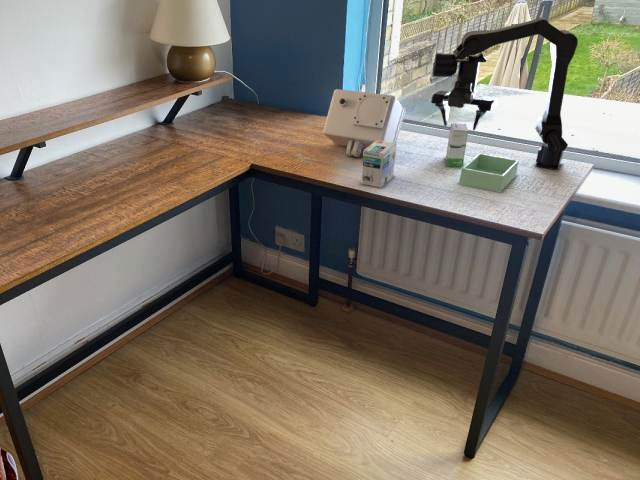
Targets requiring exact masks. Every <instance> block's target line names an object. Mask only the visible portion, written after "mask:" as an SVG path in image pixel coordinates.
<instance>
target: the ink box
mask: <svg viewBox="0 0 640 480" xmlns="http://www.w3.org/2000/svg"><path fill="white" fill-rule="evenodd" d="M468 136H469V129H468V126H467V124H466V123H462V122H461V123H459V122H451V123H450V128H449V133H448V140H447V146H446V152H445V160H446V165H447V167H455V168H457V167H458V168H459V167H460V168H463V167H464V161H465V154H466V149H467V148H466V147H467V142H468Z"/></svg>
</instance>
